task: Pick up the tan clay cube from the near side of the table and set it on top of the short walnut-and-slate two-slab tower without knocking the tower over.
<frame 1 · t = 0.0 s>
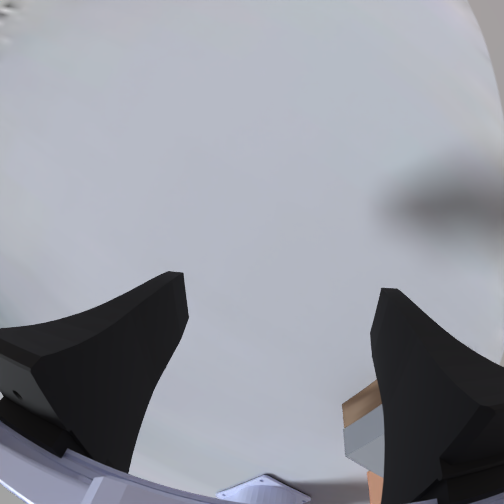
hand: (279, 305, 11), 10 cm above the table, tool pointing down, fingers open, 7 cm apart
tan clay cube: (390, 469, 25), on the table
slate slab: (393, 425, 21), point 3 cm above the table
walnut slab: (388, 401, 23), on the table
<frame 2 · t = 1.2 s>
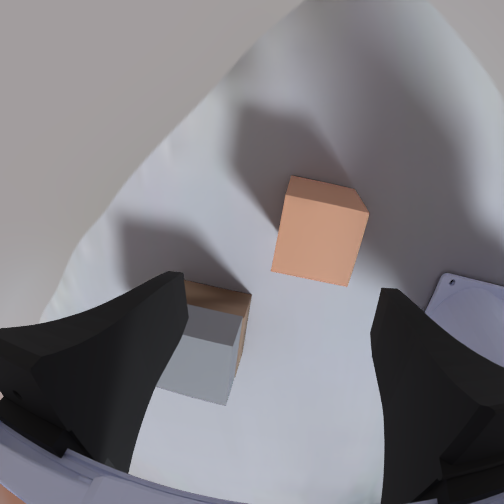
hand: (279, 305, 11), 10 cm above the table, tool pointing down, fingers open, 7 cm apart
tan clay cube: (316, 212, 19), on the table
slate slab: (197, 339, 22), point 3 cm above the table, touching walnut slab
walnut slab: (209, 317, 24), on the table, touching slate slab
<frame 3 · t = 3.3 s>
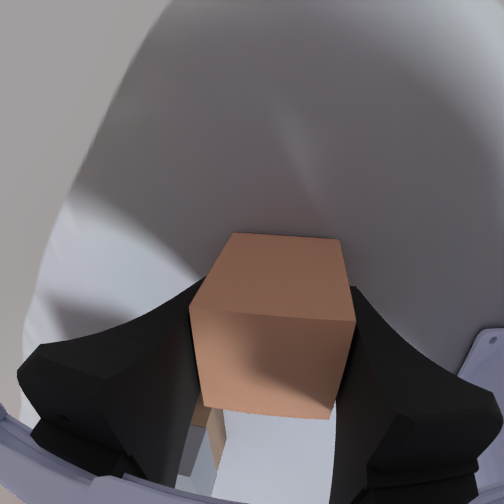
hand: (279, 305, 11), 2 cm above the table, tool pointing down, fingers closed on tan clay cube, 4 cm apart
tan clay cube: (283, 282, 12), on the table, touching gripper
slate slab: (163, 443, 15), point 3 cm above the table, touching walnut slab
walnut slab: (177, 406, 18), on the table, touching slate slab
when the fingers open (9 cm above the table, at t = 6.1 s): tan clay cube drops 1 cm, point 6 cm above the table.
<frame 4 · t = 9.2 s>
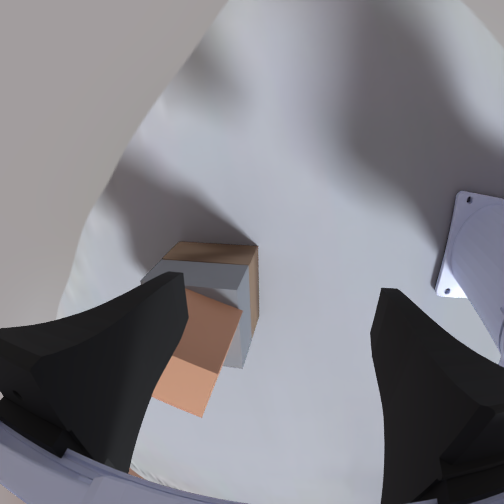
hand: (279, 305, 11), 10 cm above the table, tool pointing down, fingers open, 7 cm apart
tan clay cube: (202, 323, 18), point 6 cm above the table
slate slab: (207, 301, 21), point 3 cm above the table, touching walnut slab
walnut slab: (220, 279, 24), on the table, touching slate slab
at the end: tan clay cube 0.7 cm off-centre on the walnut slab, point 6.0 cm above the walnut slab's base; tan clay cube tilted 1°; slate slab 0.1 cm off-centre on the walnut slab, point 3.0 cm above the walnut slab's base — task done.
